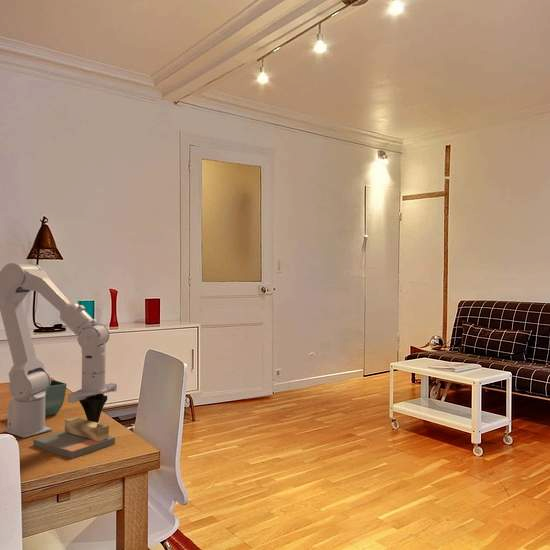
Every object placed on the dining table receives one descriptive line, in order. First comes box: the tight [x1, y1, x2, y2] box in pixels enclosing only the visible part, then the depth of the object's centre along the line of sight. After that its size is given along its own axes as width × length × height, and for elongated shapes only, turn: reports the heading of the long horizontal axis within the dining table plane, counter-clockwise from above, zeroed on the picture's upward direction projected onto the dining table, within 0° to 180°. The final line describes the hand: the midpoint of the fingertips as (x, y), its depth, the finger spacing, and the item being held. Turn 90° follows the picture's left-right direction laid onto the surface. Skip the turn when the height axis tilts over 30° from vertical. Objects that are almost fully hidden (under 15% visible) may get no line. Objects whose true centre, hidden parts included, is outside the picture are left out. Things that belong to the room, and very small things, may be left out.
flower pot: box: [45, 379, 68, 417], centre depth 149 cm, size 9×9×9 cm
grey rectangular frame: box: [32, 429, 116, 460], centre depth 123 cm, size 15×12×2 cm
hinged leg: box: [64, 416, 110, 441], centre depth 125 cm, size 13×3×4 cm, turn 57°
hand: (93, 424), depth 130 cm, fingers closed
